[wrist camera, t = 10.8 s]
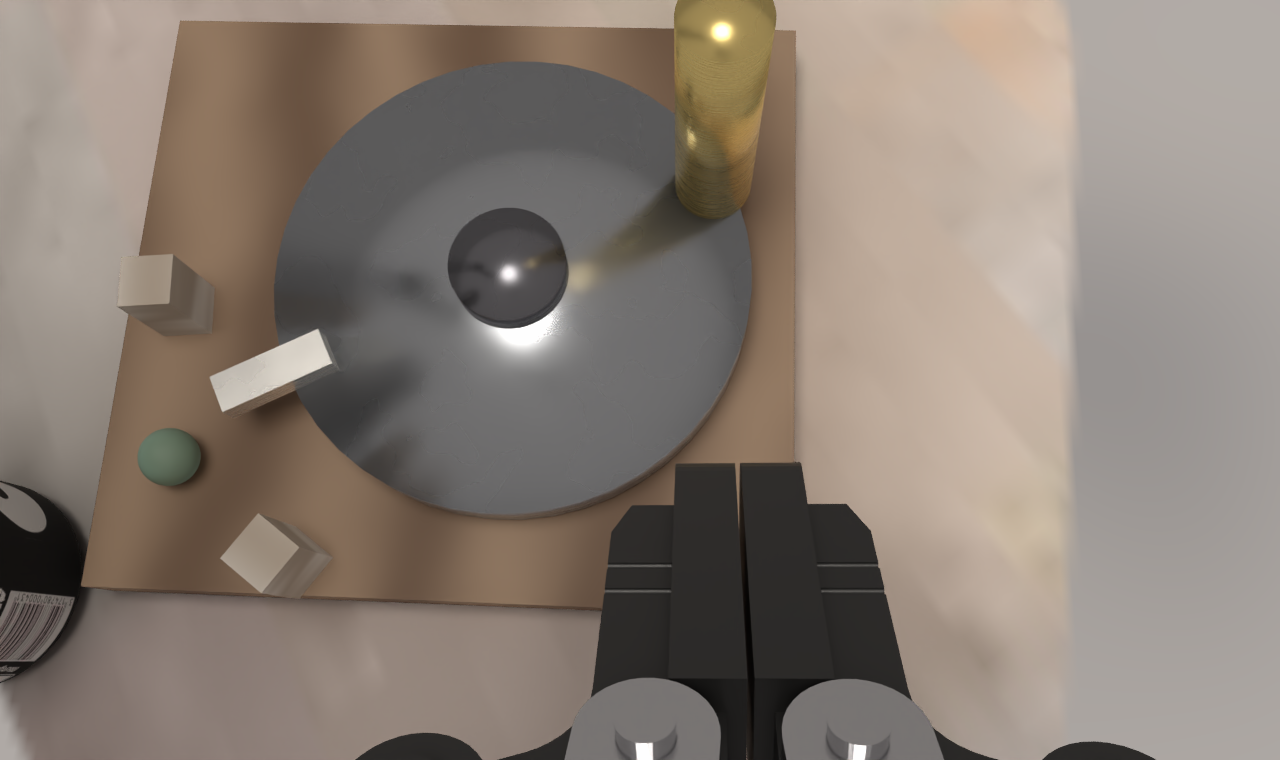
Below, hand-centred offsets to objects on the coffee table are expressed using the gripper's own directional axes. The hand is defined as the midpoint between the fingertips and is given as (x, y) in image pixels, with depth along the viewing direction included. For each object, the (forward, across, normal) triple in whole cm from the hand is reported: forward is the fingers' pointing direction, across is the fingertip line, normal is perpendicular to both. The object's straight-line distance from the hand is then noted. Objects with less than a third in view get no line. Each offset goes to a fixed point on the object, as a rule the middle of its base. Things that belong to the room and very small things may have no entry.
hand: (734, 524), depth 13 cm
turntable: (+22, +8, +8) cm, 25 cm away
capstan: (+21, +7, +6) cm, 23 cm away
